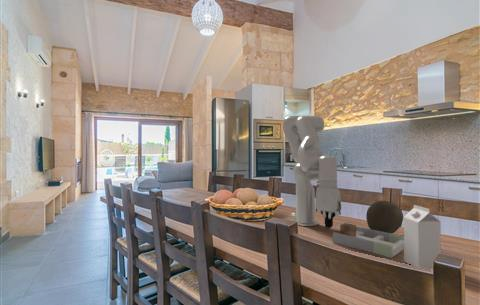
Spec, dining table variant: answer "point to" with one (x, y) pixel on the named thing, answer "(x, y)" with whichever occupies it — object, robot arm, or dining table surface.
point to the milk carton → (421, 237)
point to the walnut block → (348, 229)
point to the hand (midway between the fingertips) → (328, 227)
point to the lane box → (372, 241)
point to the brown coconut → (384, 217)
